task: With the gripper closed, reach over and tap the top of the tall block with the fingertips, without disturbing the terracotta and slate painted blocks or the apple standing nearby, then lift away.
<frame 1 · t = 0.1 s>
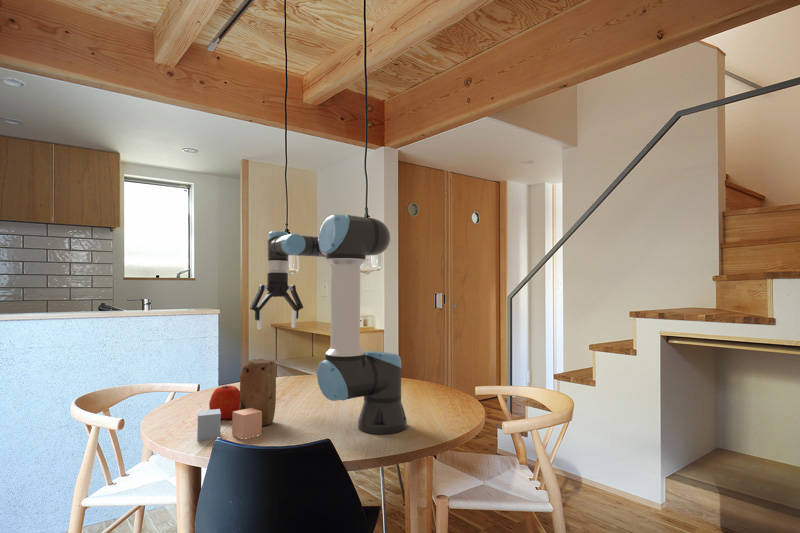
hand: (277, 328, 176), 28 cm above the table, fingers open, 13 cm apart
terracotta block: (246, 435, 137), on the table
slate block: (208, 436, 136), on the table
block: (256, 424, 149), on the table
apple: (226, 417, 157), on the table
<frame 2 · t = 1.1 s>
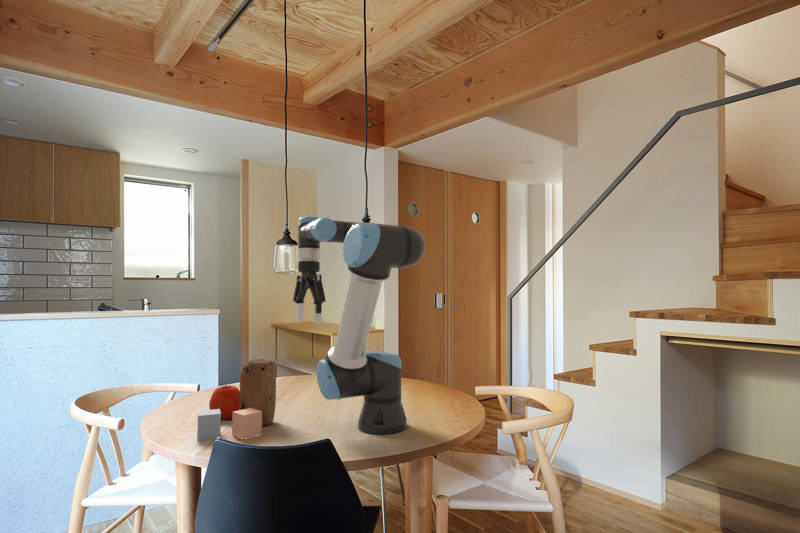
hand: (308, 322, 164), 31 cm above the table, fingers open, 12 cm apart
nothing on the table moved.
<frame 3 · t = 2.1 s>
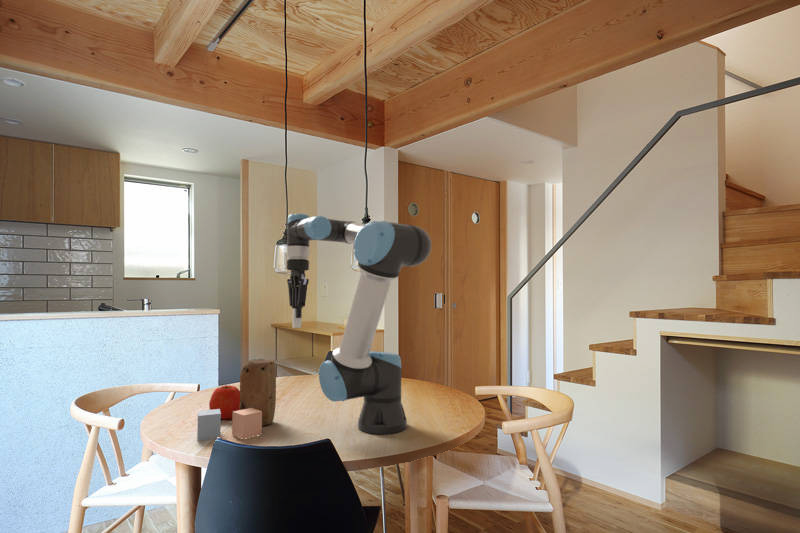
hand: (296, 327, 161), 30 cm above the table, fingers closed
nothing on the table moved.
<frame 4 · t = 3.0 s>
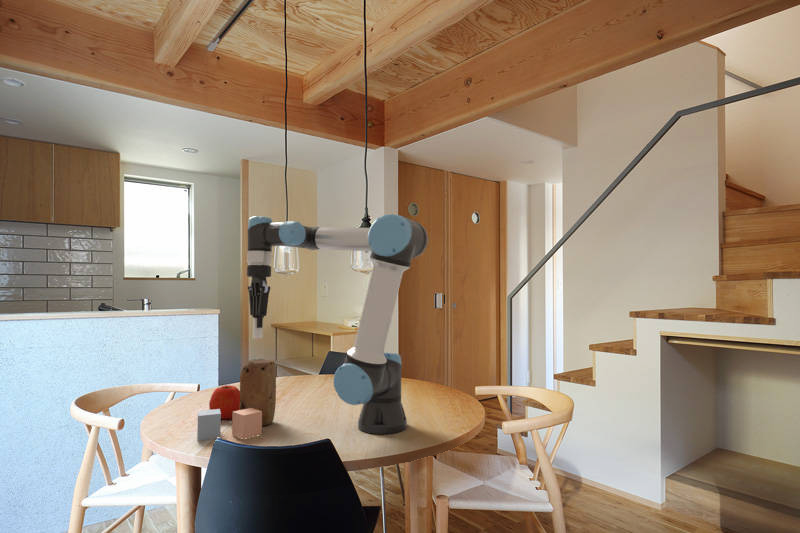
hand: (257, 338, 150), 27 cm above the table, fingers closed
nothing on the table moved.
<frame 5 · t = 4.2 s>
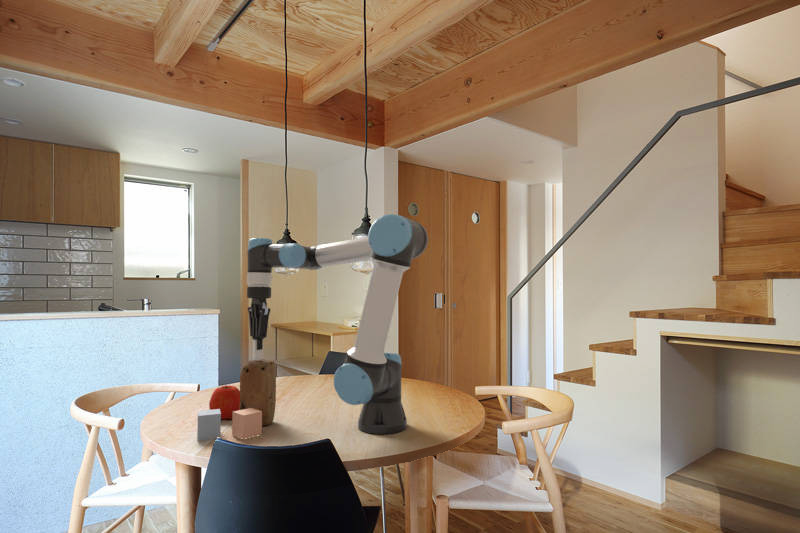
hand: (257, 359, 150), 20 cm above the table, fingers closed
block: (256, 424, 149), on the table, touching gripper
everything else where it was.
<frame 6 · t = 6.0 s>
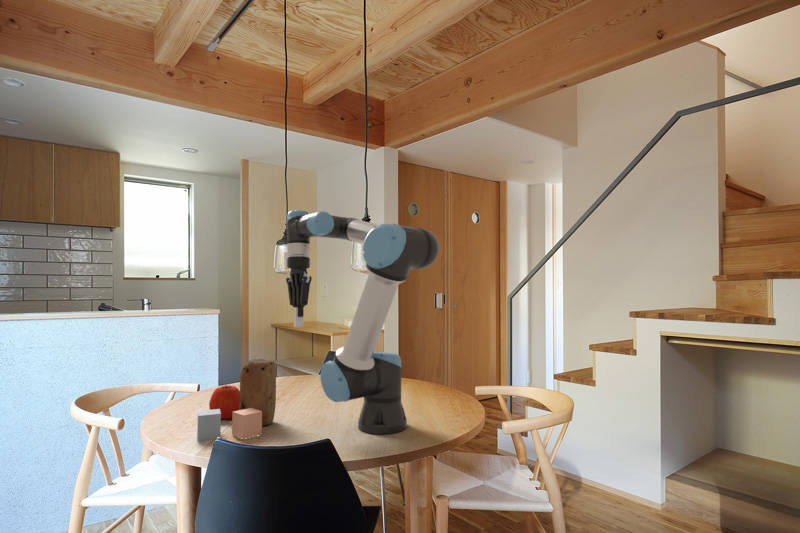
hand: (298, 326, 157), 30 cm above the table, fingers closed
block: (256, 424, 149), on the table
everything else where it was.
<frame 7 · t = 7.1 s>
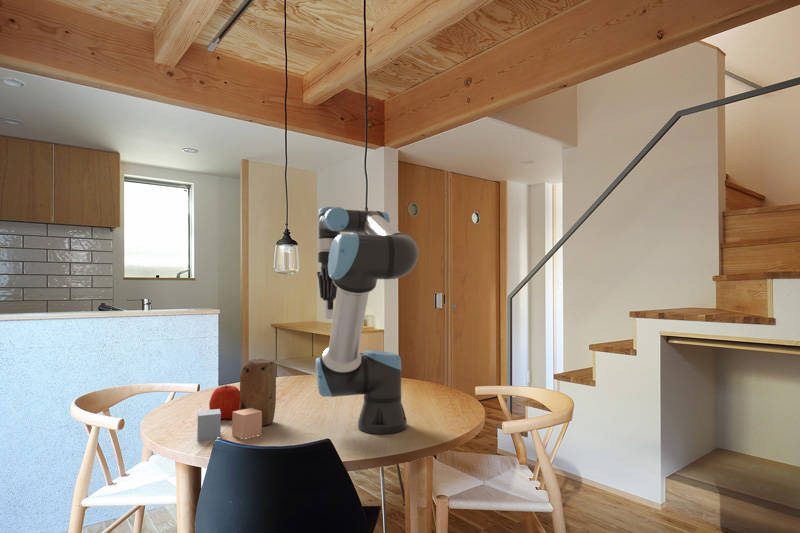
hand: (328, 318, 163), 32 cm above the table, fingers closed
nothing on the table moved.
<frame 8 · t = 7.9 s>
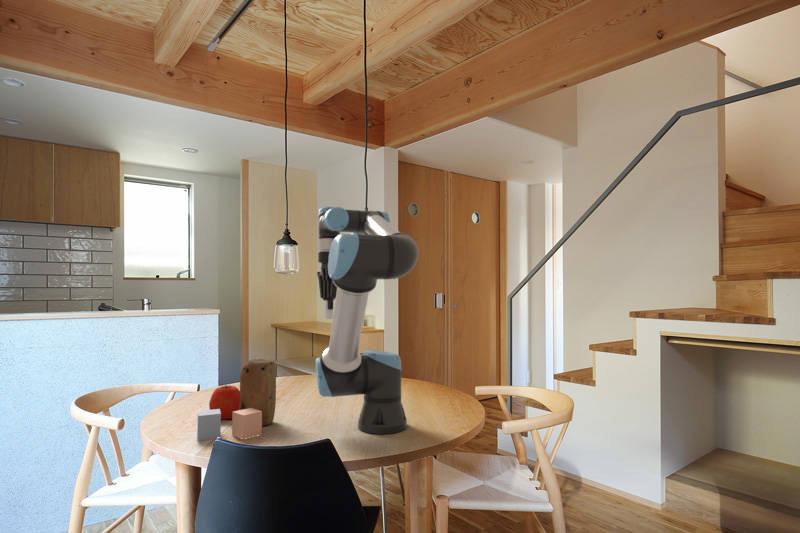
hand: (328, 318, 163), 32 cm above the table, fingers closed
nothing on the table moved.
at the end: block moved 0.2 cm from its start; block tilted 0°; terracotta block moved 0.1 cm from its start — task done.
